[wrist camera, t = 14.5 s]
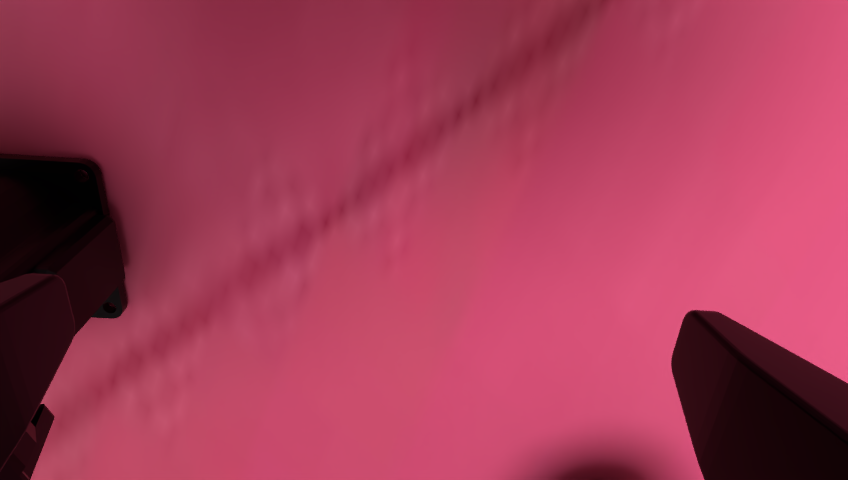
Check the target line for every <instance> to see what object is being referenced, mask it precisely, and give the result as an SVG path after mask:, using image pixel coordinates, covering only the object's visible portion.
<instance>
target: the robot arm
mask: <svg viewBox="0 0 848 480" xmlns="http://www.w3.org/2000/svg"><path fill="white" fill-rule="evenodd" d="M80 169H81V170H84V171H85V172H87V174H88V176H89V179H87V178H84V177H83V176H82V175H81V173H80ZM124 279H125V272H124V267H123V262H122V256H121V251H120V246H119V241H118V236H117V231H116V226H115V222H114V220H113V219H112V218H111V217H110V214H109V209H108V204H107V199H106V194H105V189H104V184H103V179H102V174H101V171H100V168H99V167H98V166H97V165H96V163H94V162H92V161H91V160H88V159H81V158H64V157H46V156H29V155H12V154H0V480H30V479H31V476H32V474H33V471H34V469H35V466H36V463H37V461H38V458H39V456H40V453H41V451H42V448H43V446H44V443H45V440H46V438H47V435H48V433H49V430H50V428H51V425H52V423H53V420H54V415H53V414H52V413H51V412H50V411H49V409H48V408H47V407H46V406H45V405H44V404H40V403H41V401H42V399H43V397H44V395H45V393H46V391H47V390H48V388H49V386H50V384H51V382H52V380H53V378H54V376H55V374H56V372H57V370H58V368H59V366H60V364H61V362H62V360H63V358H64V356H65V354H66V352H67V350H68V348H69V346H70V344H71V342H72V340H73V337H74V336H75V335H76V334H77V332H78V331H79V330H80V329H81V328H82V327H83V326H84V324H85V323H86V322H87V321H88V320H89V319H90V318H91V317H95V318H117V317H119V316H120V315H121V314H122V313H123V312H124V310H125V309H126V307H127V300H126V295H125V290H124V285H123V280H124ZM108 302H109V303H112V304H114V305H115V307H116V308H115V307H112V306H110V305H109V303H108ZM671 366H672V373H673V377H674V380H675V384H676V387H677V391H678V394H679V398H680V401H681V405H682V409H683V412H684V416H685V419H686V423H687V426H688V430H689V433H690V437H691V441H692V444H693V448H694V451H695V454H696V457H697V460H698V464H699V466H700V469H701V472H702V474H703V477H704V479H705V480H848V383H846V382H844V381H843V380H841V379H839V378H837V377H835V376H834V375H832V374H830V373H828V372H826V371H824V370H823V369H821V368H819V367H817V366H815V365H814V364H812V363H810V362H808V361H806V360H805V359H803V358H801V357H799V356H797V355H796V354H794V353H792V352H790V351H788V350H787V349H785V348H783V347H781V346H779V345H777V344H776V343H774V342H772V341H770V340H768V339H767V338H765V337H763V336H761V335H759V334H758V333H756V332H754V331H752V330H750V329H749V328H747V327H745V326H743V325H741V324H739V323H738V322H736V321H734V320H732V319H730V318H729V317H727V316H725V315H723V314H721V313H719V312H715V311H700V310H692V311H690V312H688V313H687V314H686V315H685V317H684V319H683V322H682V325H681V328H680V332H679V335H678V338H677V341H676V345H675V348H674V351H673V355H672V361H671Z"/></svg>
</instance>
